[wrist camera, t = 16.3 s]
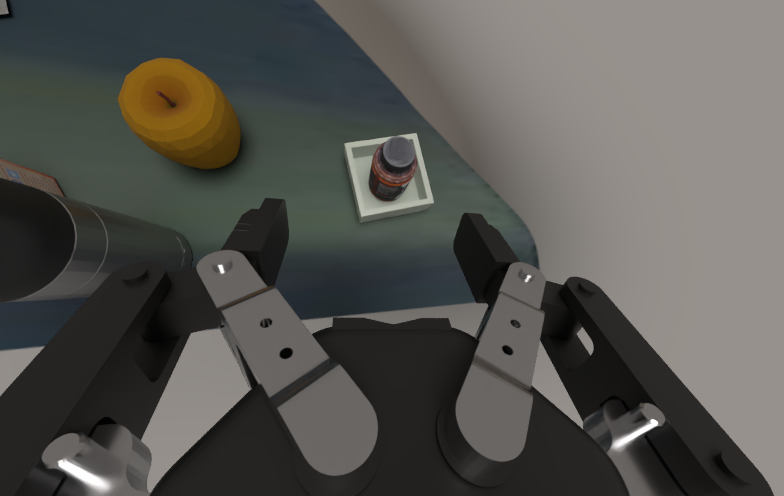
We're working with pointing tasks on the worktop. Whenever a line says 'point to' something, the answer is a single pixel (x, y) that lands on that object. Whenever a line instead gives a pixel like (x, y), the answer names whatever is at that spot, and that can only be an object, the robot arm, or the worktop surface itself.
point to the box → (366, 203)
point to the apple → (180, 114)
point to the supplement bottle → (392, 168)
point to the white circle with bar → (3, 7)
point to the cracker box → (28, 177)
